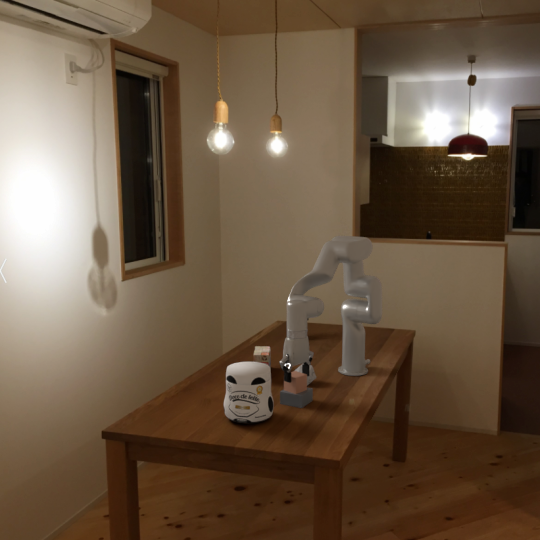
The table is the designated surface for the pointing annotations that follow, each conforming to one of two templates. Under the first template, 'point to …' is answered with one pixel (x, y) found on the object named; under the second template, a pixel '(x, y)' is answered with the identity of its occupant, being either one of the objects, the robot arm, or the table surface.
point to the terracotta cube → (296, 383)
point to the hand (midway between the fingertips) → (296, 378)
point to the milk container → (248, 392)
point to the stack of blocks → (262, 355)
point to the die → (311, 374)
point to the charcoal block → (296, 398)
